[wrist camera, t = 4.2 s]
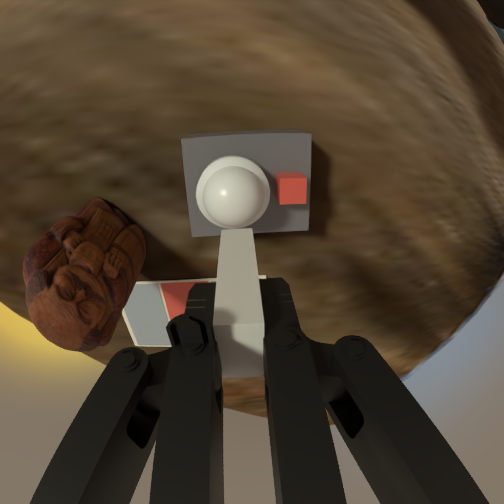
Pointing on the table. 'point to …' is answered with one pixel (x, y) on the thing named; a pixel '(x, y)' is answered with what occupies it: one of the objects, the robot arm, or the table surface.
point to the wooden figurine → (83, 276)
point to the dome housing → (273, 165)
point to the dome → (233, 191)
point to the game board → (157, 308)
